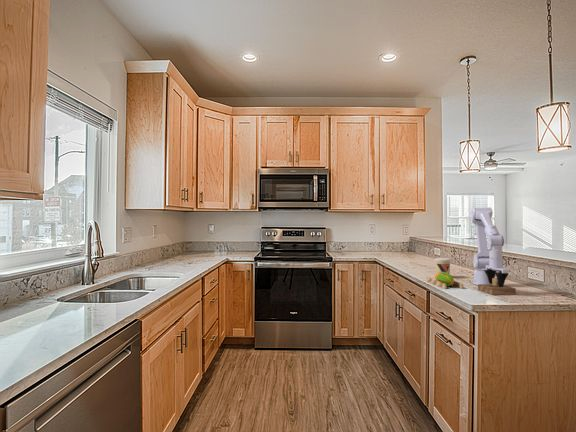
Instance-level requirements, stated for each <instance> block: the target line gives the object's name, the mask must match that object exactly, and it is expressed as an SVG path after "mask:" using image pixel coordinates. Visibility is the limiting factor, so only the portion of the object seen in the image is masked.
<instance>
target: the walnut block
mask: <svg viewBox="0 0 576 432" xmlns="http://www.w3.org/2000/svg"><path fill="white" fill-rule="evenodd" d="M477 290H478V291H479V292H483V293H486V294H488V295H491V296H505V295H507V296H509V295H510V296H511V295H512V296H513V295H514V296H515V295H517V288H515V287H512V286H509V285H505V284H504V286H503V287H492V284H478V285H477Z"/></svg>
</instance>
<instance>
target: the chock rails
mask: <svg viewBox="0 0 576 432" xmlns="http://www.w3.org/2000/svg"><path fill="white" fill-rule="evenodd" d="M426 282H428V283H430V284H433V285H434V286H437V287H439V288H442V289H444V290H447V288H448V286H447V285H446V284H444V283H442V282H440V281H437V280H436V278H435V279H434V278H432V277H430V276H426ZM452 286H454V287H457V288H458V289H463V290H464V283H462V282H458V281H456V280H454V284H453V285H452Z"/></svg>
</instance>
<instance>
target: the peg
mask: <svg viewBox="0 0 576 432" xmlns="http://www.w3.org/2000/svg"><path fill="white" fill-rule="evenodd" d="M492 287H499V286H498V280H497V277H495V278H492Z"/></svg>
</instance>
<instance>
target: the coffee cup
mask: <svg viewBox="0 0 576 432" xmlns="http://www.w3.org/2000/svg"><path fill="white" fill-rule="evenodd" d="M434 267H435V268H434V269H435V275H436V274H444V273H441V272H446V273H448V274H450V275H451V272H450V270H451V259H450V258H447V257H436V258H434Z"/></svg>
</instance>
